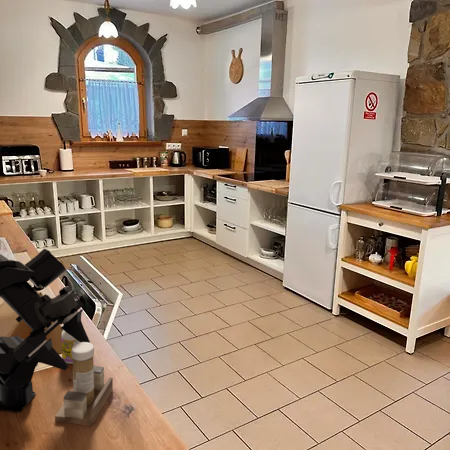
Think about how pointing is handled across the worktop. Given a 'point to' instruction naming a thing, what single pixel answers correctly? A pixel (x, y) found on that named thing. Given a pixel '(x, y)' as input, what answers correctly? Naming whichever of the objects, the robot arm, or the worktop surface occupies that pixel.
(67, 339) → the supplement bottle
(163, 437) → the worktop surface
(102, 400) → the walnut spice rack
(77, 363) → the sprinkles bottle
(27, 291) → the robot arm
